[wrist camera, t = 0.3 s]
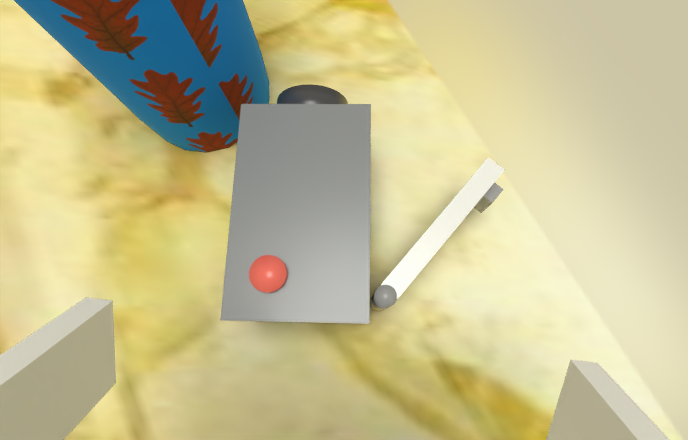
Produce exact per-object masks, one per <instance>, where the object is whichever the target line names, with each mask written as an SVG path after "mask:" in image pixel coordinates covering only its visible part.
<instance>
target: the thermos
mask: <svg viewBox="0 0 688 440" xmlns="http://www.w3.org/2000/svg"><path fill="white" fill-rule="evenodd" d="M14 1H15V2H16V3H17V4H18V5H19V6H21V7H22V8H23V9H24V10H25V11H26V12H27V13H28V14H29V15H30V16H31V17H32V18H33V19H34V20H35V21H36V22H37V23H39V24H40V25H41V26H42V27H43V28H44V29H45V30H46V31H47V32H48V33H49V34H50V35H51V36H52V37H53V38H54V39H55V40H57V41H58V42H59V43H60V44H61V45H62V46H63V47H64V48H65V49H66V50H67V51H68V52H69V53H70V54H71V55H72V56H73V57H75V58H76V59H77V60H78V61H79V62H80V63H81V64H82V65H83V66H84V67H85V68H86V69H87V70H88V71H89V72H90V73H92V74H93V75H94V76H95V77H96V78H97V79H98V80H99V81H100V82H101V83H102V84H103V85H104V86H105V87H106V88H107V89H108V90H110V91H111V92H112V93H113V94H114V95H115V96H116V97H117V98H118V99H119V100H120V101H121V102H122V103H123V104H124V105H125V106H126V107H128V108H129V109H130V110H131V111H132V112H133V113H134V114H135V115H136V116H137V117H138V118H139V119H140V120H141V121H143V122H144V123H145V124H146V125H148V126H149V127H150V128H151V129H153V130H154V131H155V132H156V133H158V134H159V135H160V136H161V137H162V138H164V139H165V140H166V141H168V142H170V143H172V144H174V145H176V146H178V147H180V148H182V149H184V150H189V151H199V152H210V151H215V150H219V149H224V148H228V147H230V146H232V145H233V144H235V143H237V142H238V132H239V121H240V111H241V104H268V103H269V80H268V77H267V73H266V69H265V65H264V62H263V58H262V54H261V51H260V48H259V45H258V42H257V39H256V37H255V34H254V31H253V28H252V25H251V22H250V19H249V17H248V14H247V11H246V8H245V5H244V2H243V0H14Z"/></svg>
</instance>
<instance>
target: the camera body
mask: <svg viewBox="0 0 688 440" xmlns="http://www.w3.org/2000/svg"><path fill="white" fill-rule="evenodd" d="M370 130H371V104H348V102H347V100H346V99H345V97H344V96H343V95H342V94H340V93H339V92H337V91H335V90H333V89H331V88H328V87H324V86H319V85H299V86H294V87H291V88H288V89H286V90H285V91H283V92H282V93H281V94H280V95H279V97H278V100H277V104H241V111H240V121H239V132H238V142H237V153H236V163H235V174H234V184H233V195H232V205H231V216H230V226H229V237H228V247H227V258H226V268H225V279H224V289H223V300H222V310H221V320H227V321H268V322H313V323H357V324H369V296H370Z"/></svg>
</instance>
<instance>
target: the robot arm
mask: <svg viewBox="0 0 688 440" xmlns="http://www.w3.org/2000/svg"><path fill="white" fill-rule="evenodd" d="M115 383H116V373H115V348H114V323H113V301H110V300H103V299H95V298H87V297H86V298H85V299H83V300H82V301H80V302H79V303H77V304H76V305H74V306H73V307H71V308H70V309H68V310H67V311H65V312H64V313H62V314H61V315H59V316H58V317H56V318H55V319H53V320H52V321H50V322H49V323H48V324H46V325H45V326H43V327H42V328H40V329H39V330H37V331H36V332H34V333H33V334H31V335H30V336H28V337H27V338H25V339H24V340H22V341H21V342H19V343H18V344H16V345H15V346H13V347H12V348H10V349H9V350H7V351H6V352H4V353H3V354H1V355H0V440H64V439H65V438H66V437H67V436H68V435H69V434H70V432H71V431H72V430H73V429H74V428H75V427H76V426H77V425H78V424H79V423H80V421H81V420H82V419H83V418H84V417H85V416H86V415H87V414H88V413H89V412H90V411H91V409H92V408H93V407H94V406H95V405H96V404H97V403H98V402H99V401H100V400H101V398H102V397H103V396H104V395H105V394H106V393H107V392H108V391H109V390H110V389H111V387H112V386H113V385H114V384H115ZM547 440H669V439H668V438H667V437H666V436H665V434H664V433H663V432H662V431H661V430H660V429H659V428H658V427H657V426H656V425H655V424H654V423H653V422H652V421H651V419H650V418H649V417H648V416H647V415H646V414H645V413H644V412H643V411H642V410H641V409H640V408H639V407H638V406H637V404H636V403H635V402H634V401H633V400H632V399H631V398H630V397H629V396H628V395H627V394H626V393H625V392H624V391H623V389H622V388H621V387H620V386H619V385H618V384H617V383H616V382H615V381H614V380H613V379H612V378H611V377H610V376H609V374H608V373H607V372H606V371H605V370H604V369H603V368H602V367H601V366H600V365H599V364H598V363H593V362H585V361H577V360H571V361H570V364H569V367H568V370H567V374H566V377H565V380H564V383H563V387H562V390H561V393H560V397H559V400H558V403H557V406H556V410H555V413H554V416H553V420H552V423H551V426H550V429H549V433H548V436H547Z"/></svg>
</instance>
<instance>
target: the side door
mask: <svg viewBox="0 0 688 440" xmlns="http://www.w3.org/2000/svg"><path fill="white" fill-rule="evenodd" d="M504 170H505V169H503V168H502V167H501V166H499V165H498V164H497V163H495V162H494V161H492V160H491V159H490V158H488V159H487V160H486V161H485V162H484V163H483V164H482V166H481V167H480V168H479V169H478V170H477V172H476V173H475V174H474V175H473V176H472V177H471V179H470V180H469V181H468V182H467V183H466V185H465V186H464V187H463V188H462V189H461V190H460V192H459V193H458V194H457V195H456V196H455V198H454V199H453V200H452V201H451V202H450V203H449V205H448V206H447V207H446V208H445V209H444V211H443V212H442V213H441V214H440V215H439V216H438V218H437V219H436V220H435V221H434V222H433V224H432V225H431V226H430V227H429V228H428V229H427V231H426V232H425V233H424V234H423V235H422V236H421V238H420V239H419V240H418V241H417V242H416V244H415V245H414V246H413V247H412V248H411V249H410V251H409V252H408V253H407V254H406V255H405V257H404V258H403V259H402V260H401V261H400V262H399V264H398V265H397V266H396V267H395V268H394V270H393V271H392V272H391V273H390V274H389V275H388V277H387V278H386V279H385V280H384V281H383V283H382V284H381V285H380V287H378V288H377V290H376V291H375V293H374V295H373V297H372V298H371V301H370V304H371V307H372V308H373V309H374V310H376V311H382V310H384V309H386V308H388V307H390V306H391V305H393V304H394V303H395V301H396V300H397V299H398V298H399V297H400V295H401V294H402V293H403V292H404V291H405V289H406V288H407V287H408V286H409V285H410V283H411V282H412V281H413V280H414V279H415V277H416V276H417V275H418V274H419V273H420V271H421V270H422V269H423V268H424V267H425V265H426V264H427V263H428V262H429V261H430V259H431V258H432V257H433V256H434V255H435V253H436V252H437V251H438V250H439V249H440V247H441V246H442V245H443V244H444V243H445V241H446V240H447V239H448V238H449V237H450V235H451V234H452V233H453V232H454V230H455V229H456V228H457V227H458V226H459V224H460V223H461V222H462V221H463V220H464V218H465V217H466V216H467V215H468V214H469V212H470V211H471V210H472V209H473V208H475V209H477V210H478V211H479V212H480V213H482V212H483V211H484V210H485V209H486V208H487V207H488V206H489V205H491V204H492V203H493V202H494V200H495V199H496V198H497V197H498V195H499V194H500V193H501V192H502V191H503V189H502V188H501V187H500V186H498V185H497V184H496V183H494V182H495V181H496V180H497V179H498V178H499V176H500V175H501V174H502V173H503V172H504Z"/></svg>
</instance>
